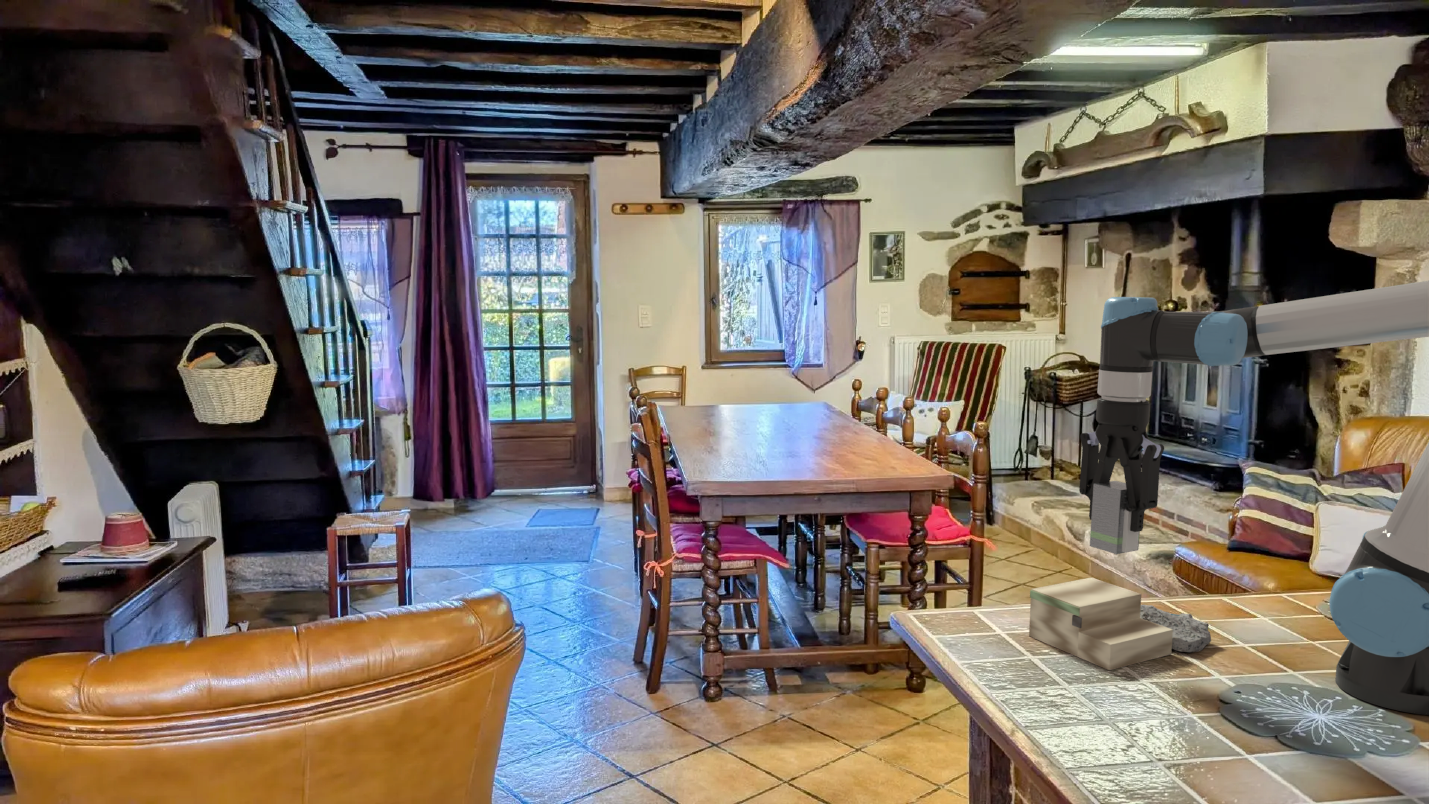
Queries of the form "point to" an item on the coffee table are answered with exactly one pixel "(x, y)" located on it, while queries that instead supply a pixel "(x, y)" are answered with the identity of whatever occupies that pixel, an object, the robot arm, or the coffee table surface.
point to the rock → (1179, 628)
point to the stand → (1096, 623)
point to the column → (1108, 516)
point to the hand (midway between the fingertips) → (1113, 546)
